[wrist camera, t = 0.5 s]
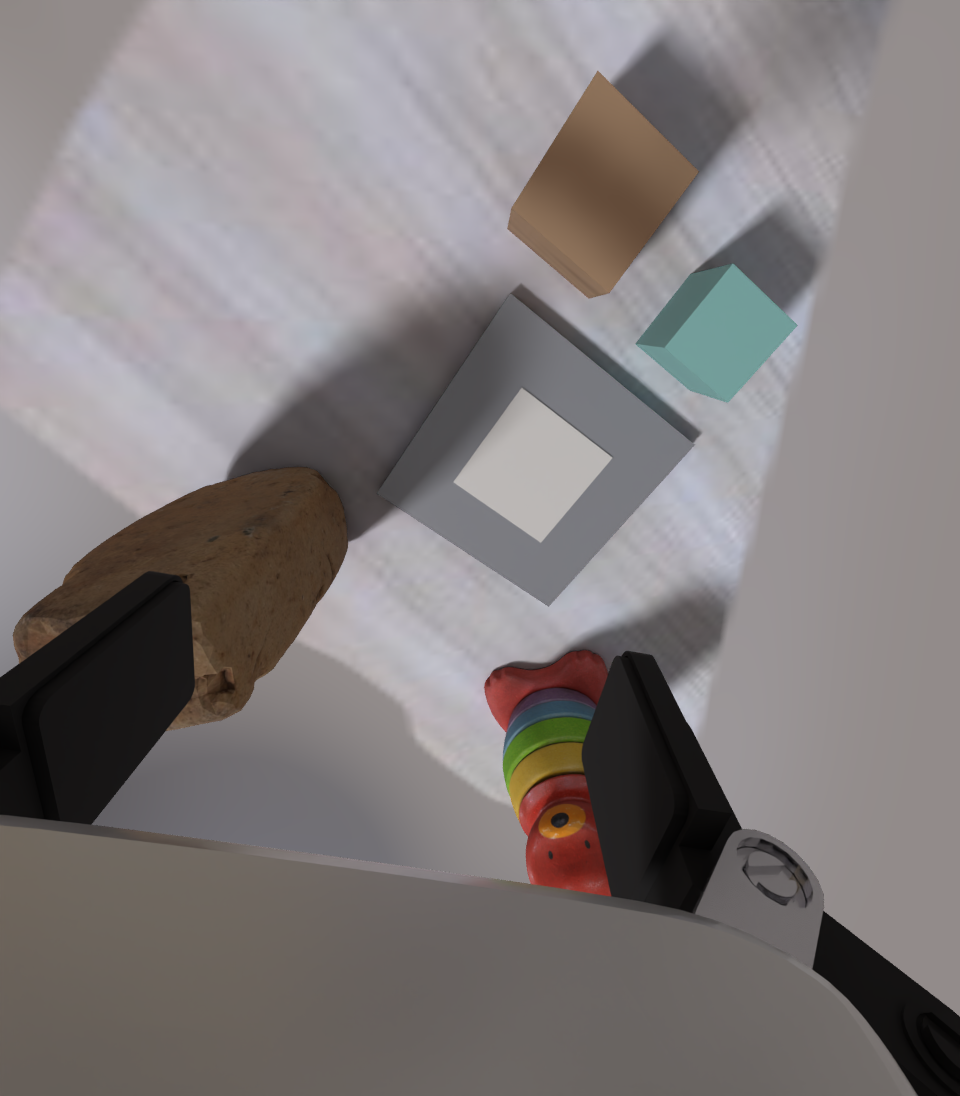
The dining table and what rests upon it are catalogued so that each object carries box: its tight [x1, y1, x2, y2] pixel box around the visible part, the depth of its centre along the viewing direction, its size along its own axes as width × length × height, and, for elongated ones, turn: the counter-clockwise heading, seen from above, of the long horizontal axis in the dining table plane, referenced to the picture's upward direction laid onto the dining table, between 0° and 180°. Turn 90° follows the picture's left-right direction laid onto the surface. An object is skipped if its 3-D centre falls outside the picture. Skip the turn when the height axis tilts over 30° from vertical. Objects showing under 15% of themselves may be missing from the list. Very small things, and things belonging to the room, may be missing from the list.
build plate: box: [377, 293, 694, 606], centre depth 36 cm, size 16×16×1 cm
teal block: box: [636, 264, 797, 403], centre depth 30 cm, size 5×5×6 cm
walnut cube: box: [507, 71, 699, 298], centre depth 27 cm, size 6×6×6 cm
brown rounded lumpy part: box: [13, 467, 348, 731], centre depth 29 cm, size 11×8×20 cm
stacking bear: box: [484, 650, 611, 896], centre depth 37 cm, size 11×10×18 cm
